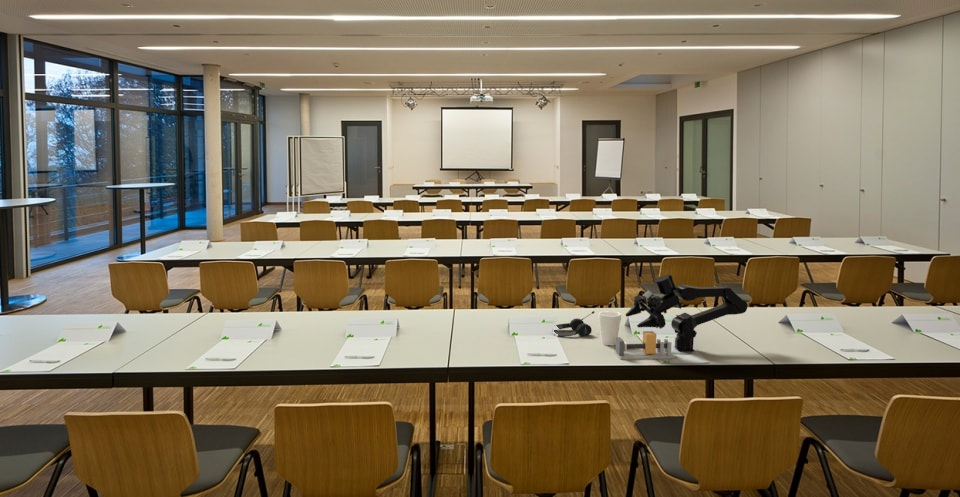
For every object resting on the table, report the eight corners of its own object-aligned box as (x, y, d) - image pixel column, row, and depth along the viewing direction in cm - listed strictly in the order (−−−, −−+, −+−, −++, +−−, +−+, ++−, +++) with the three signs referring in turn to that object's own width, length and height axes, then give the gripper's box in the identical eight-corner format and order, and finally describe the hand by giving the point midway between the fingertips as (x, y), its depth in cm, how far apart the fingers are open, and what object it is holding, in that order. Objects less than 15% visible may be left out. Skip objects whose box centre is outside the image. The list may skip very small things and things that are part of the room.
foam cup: (603, 347, 303) (604, 317, 301) (594, 341, 311) (594, 312, 310) (624, 345, 305) (625, 315, 303) (614, 339, 314) (615, 310, 312)
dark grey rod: (668, 348, 293) (668, 341, 292) (670, 350, 290) (670, 343, 289) (618, 349, 292) (618, 341, 291) (619, 351, 289) (620, 343, 288)
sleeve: (652, 350, 294) (652, 331, 292) (655, 353, 289) (656, 334, 287) (642, 350, 293) (643, 331, 292) (645, 353, 288) (646, 334, 287)
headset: (598, 313, 319) (555, 320, 316) (600, 334, 321) (557, 341, 317) (588, 307, 332) (546, 313, 329) (590, 327, 334) (548, 334, 330)
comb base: (666, 351, 297) (667, 335, 296) (674, 358, 287) (675, 341, 286) (614, 352, 295) (614, 336, 294) (620, 359, 285) (620, 342, 284)
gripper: (648, 278, 298) (615, 295, 296) (673, 298, 282) (639, 316, 280) (653, 298, 304) (621, 315, 302) (678, 320, 288) (645, 338, 285)
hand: (631, 320), depth 292 cm, fingers open, 9 cm apart
